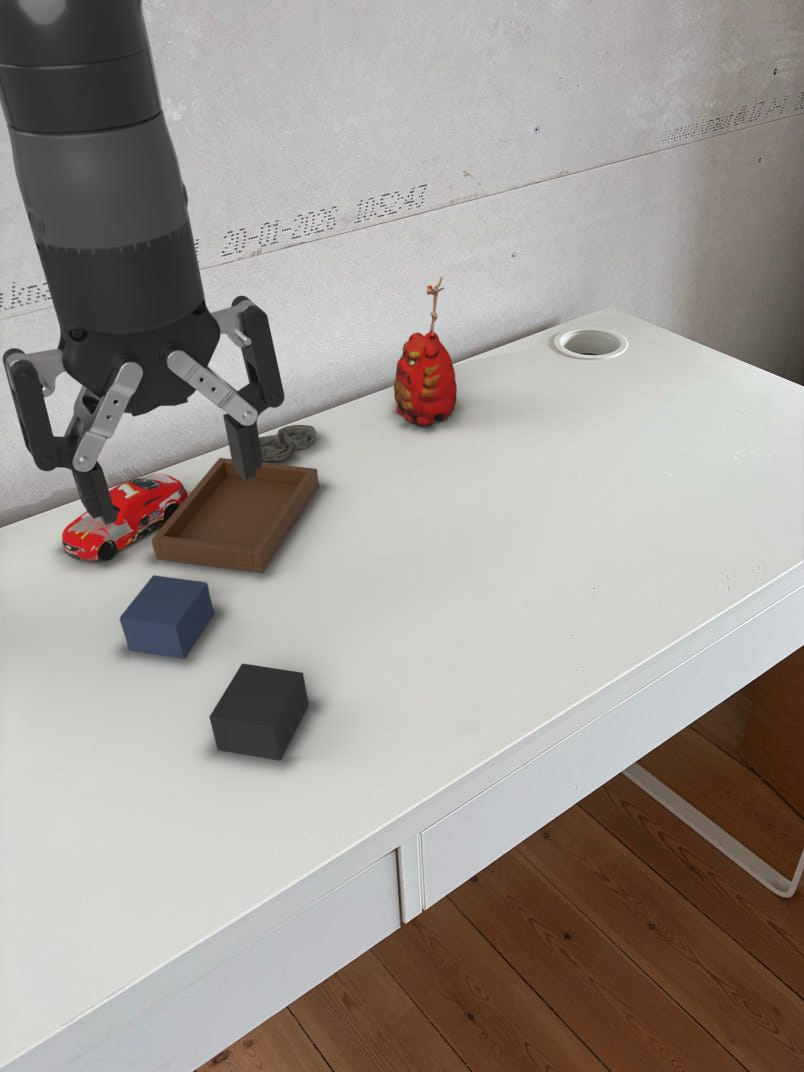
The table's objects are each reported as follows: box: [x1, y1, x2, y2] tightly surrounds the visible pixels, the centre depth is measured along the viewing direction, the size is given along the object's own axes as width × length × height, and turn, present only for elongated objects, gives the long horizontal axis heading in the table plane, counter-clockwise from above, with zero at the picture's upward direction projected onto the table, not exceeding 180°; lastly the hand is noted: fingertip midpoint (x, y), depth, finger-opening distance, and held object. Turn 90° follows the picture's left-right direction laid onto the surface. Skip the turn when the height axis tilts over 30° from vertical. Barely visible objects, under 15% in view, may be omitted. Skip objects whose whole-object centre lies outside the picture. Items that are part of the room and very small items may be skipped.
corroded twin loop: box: [259, 424, 317, 462], centre depth 109 cm, size 5×8×1 cm, turn 136°
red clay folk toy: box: [393, 276, 458, 428], centre depth 110 cm, size 8×7×15 cm
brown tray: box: [151, 457, 320, 574], centre depth 98 cm, size 11×15×2 cm
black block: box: [208, 663, 310, 762], centre depth 76 cm, size 5×6×4 cm
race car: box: [61, 472, 189, 562], centre depth 96 cm, size 13×5×4 cm, turn 143°
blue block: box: [118, 574, 215, 659], centre depth 85 cm, size 5×6×4 cm
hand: (177, 495), depth 60 cm, fingers open, 8 cm apart
